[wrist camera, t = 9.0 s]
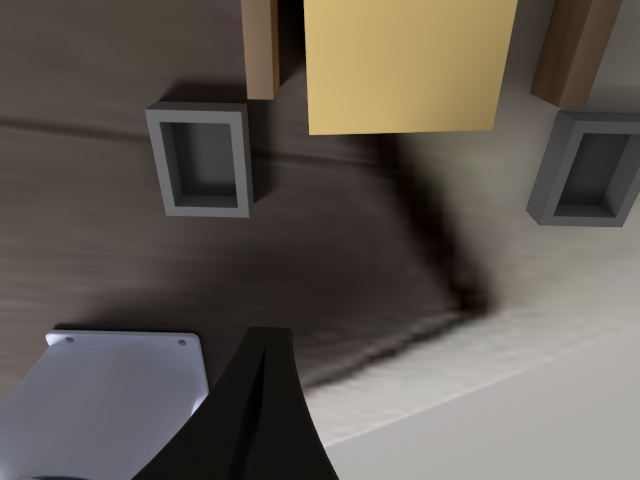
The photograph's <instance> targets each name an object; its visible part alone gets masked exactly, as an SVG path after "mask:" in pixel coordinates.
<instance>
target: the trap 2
mask: <svg viewBox="0 0 640 480" xmlns="http://www.w3.org/2000/svg"><path fill="white" fill-rule="evenodd" d="M639 191H640V114H626V113H588V112H558V115H557V118H556V121H555V124H554V127H553V130H552V133H551V136H550V139H549V142H548V145H547V148H546V152H545V155H544V158H543V161H542V164H541V167H540V170H539V173H538V176H537V179H536V182H535V185H534V188H533V191H532V194H531V197H530V200H529V204H528V207H527V210H526V211H527V212H528V213H529V214H530V216H531V217H532V218H533V219H534V220H535V221H536V222H537V223H538V224H539V225H555V226H594V227H622V226H623V224H624V222H625V220H626V218H627V216H628V214H629V212H630V210H631V208H632V205H633V203H634V201H635V199H636V197H637V195H638V193H639Z"/></svg>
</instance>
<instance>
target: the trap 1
mask: <svg viewBox="0 0 640 480" xmlns="http://www.w3.org/2000/svg"><path fill="white" fill-rule="evenodd" d="M145 112H146V117H147V122H148V127H149V132H150V137H151V142H152V147H153V152H154V157H155V162H156V167H157V172H158V177H159V182H160V187H161V192H162V197H163V202H164V207H165V212H166V216H203V217H242V218H249V217H250V214H251V211H252V208H253V205H254V197H253V183H252V169H251V154H250V140H249V126H248V112H247V104H245V103H206V102H168V101H157V102H156V103H154V104H153V105H151V106H149V107H148V108H146V109H145Z"/></svg>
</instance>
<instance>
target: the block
mask: <svg viewBox="0 0 640 480" xmlns="http://www.w3.org/2000/svg"><path fill="white" fill-rule="evenodd" d="M517 2H518V0H304V17H305V41H306V64H307V88H308V111H309V135H325V134H365V133H404V132H444V131H483V130H493V125H494V120H495V115H496V110H497V104H498V99H499V94H500V89H501V84H502V79H503V74H504V69H505V64H506V58H507V53H508V48H509V43H510V38H511V33H512V28H513V23H514V17H515V12H516V7H517Z"/></svg>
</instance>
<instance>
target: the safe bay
mask: <svg viewBox="0 0 640 480" xmlns="http://www.w3.org/2000/svg"><path fill="white" fill-rule="evenodd" d="M621 3H622V0H556V4H555V8H554V11H553V15H552V18H551V22H550V25H549V29H548V32H547V36H546V39H545V43H544V46H543V50H542V53H541V57H540V60H539V64H538V67H537V71H536V74H535V78H534V81H533V85H532V89H531V92H530V94H532V95H534V96H536V97H538V98H540V99H543V100H545V101H547V102H549V103H551V104H553V105H555V106H557V107H573V108H584V106H585V104H586V101H587V98H588V95H589V92H590V90H591V87H592V84H593V81H594V79H595V76H596V73H597V70H598V67H599V65H600V62H601V59H602V56H603V53H604V51H605V48H606V45H607V42H608V39H609V37H610V34H611V31H612V28H613V25H614V23H615V20H616V17H617V14H618V11H619V9H620V6H621ZM241 8H242V23H243V38H244V52H245V67H246V81H247V96H248V99H268V100H274V98H275V96H276V94H277V92H278V90H279V88H280V73H279V37H278V1H277V0H241Z"/></svg>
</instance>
